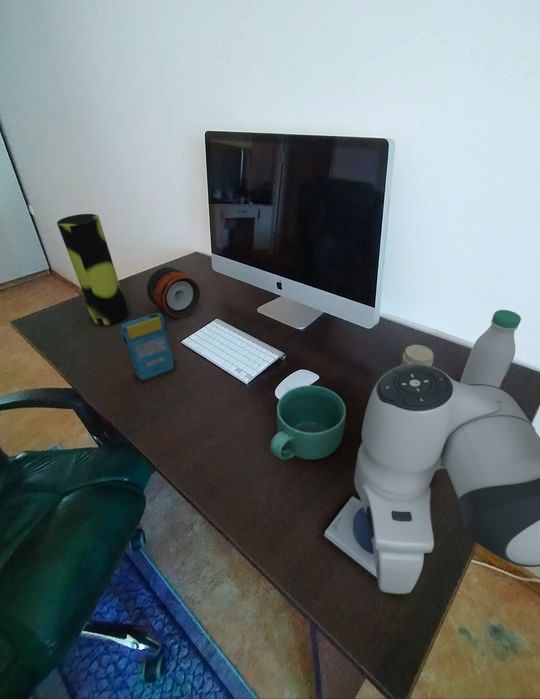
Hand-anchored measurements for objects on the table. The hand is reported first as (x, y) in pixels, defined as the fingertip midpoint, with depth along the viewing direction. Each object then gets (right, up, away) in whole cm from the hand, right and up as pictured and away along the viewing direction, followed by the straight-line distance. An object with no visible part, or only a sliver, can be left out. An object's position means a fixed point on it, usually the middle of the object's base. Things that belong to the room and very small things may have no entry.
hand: (376, 532), depth 55 cm
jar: (+16, +18, +29) cm, 38 cm away
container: (-65, +37, +60) cm, 96 cm away
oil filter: (-46, +40, +63) cm, 87 cm away
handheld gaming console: (-44, +21, +38) cm, 62 cm away
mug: (-9, +8, +17) cm, 21 cm away
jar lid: (0, +1, -1) cm, 2 cm away
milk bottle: (+31, +18, +28) cm, 45 cm away
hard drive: (0, -3, +2) cm, 4 cm away
